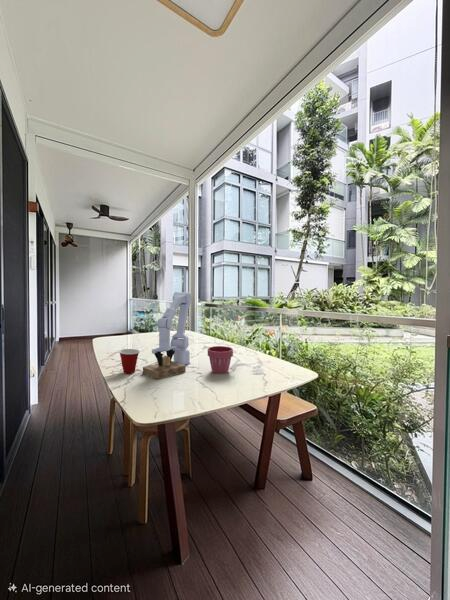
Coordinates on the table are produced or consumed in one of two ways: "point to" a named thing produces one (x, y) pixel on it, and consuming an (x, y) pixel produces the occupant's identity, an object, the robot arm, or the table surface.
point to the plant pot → (220, 358)
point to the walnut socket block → (164, 370)
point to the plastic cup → (129, 360)
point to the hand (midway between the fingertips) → (164, 364)
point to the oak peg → (165, 362)
